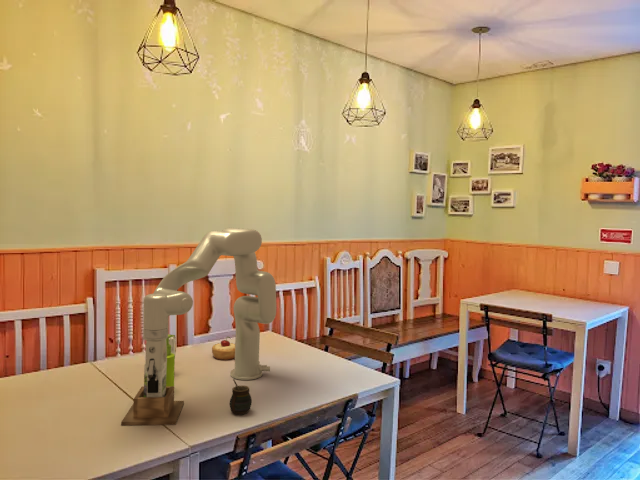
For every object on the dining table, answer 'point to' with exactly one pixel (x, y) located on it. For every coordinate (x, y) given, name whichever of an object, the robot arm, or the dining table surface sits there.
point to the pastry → (224, 350)
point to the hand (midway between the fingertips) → (155, 388)
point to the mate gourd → (240, 399)
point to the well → (154, 409)
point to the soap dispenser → (170, 364)
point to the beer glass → (173, 345)
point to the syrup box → (160, 385)
